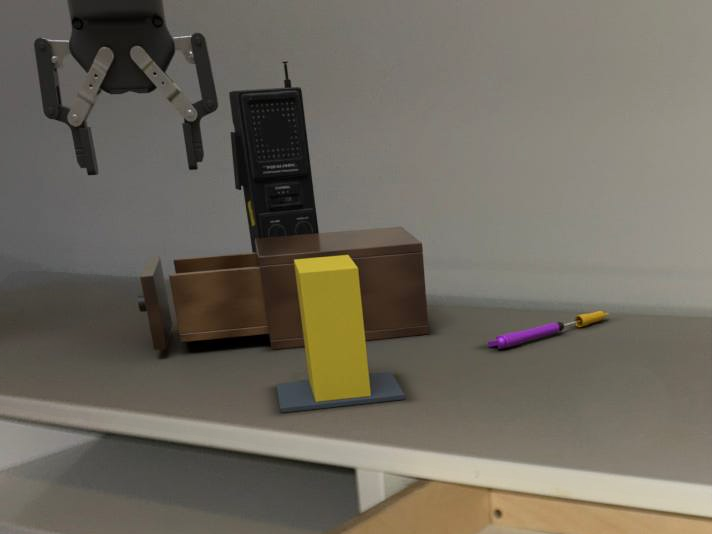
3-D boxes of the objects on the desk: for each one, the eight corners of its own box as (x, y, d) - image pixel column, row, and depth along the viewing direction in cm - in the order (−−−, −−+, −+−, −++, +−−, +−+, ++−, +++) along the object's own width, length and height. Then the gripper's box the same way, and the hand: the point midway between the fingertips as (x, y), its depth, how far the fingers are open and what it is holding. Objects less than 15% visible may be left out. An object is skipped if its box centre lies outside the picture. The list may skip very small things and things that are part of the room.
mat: (281, 412, 85) (280, 408, 85) (276, 388, 92) (276, 383, 92) (405, 399, 86) (404, 394, 86) (391, 376, 93) (391, 371, 93)
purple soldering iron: (503, 348, 99) (612, 319, 109) (501, 335, 99) (610, 307, 108) (484, 352, 101) (592, 322, 111) (481, 339, 100) (590, 310, 110)
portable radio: (263, 321, 118) (226, 64, 106) (250, 312, 123) (212, 65, 111) (331, 311, 121) (302, 60, 109) (315, 303, 125) (286, 61, 114)
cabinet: (271, 349, 105) (258, 256, 101) (266, 322, 117) (254, 238, 113) (428, 334, 107) (422, 242, 103) (408, 309, 119) (401, 226, 115)
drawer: (141, 351, 103) (126, 277, 100) (149, 326, 114) (136, 258, 111) (305, 335, 106) (295, 263, 102) (297, 312, 116) (289, 245, 113)
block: (315, 402, 86) (298, 272, 81) (309, 381, 92) (293, 259, 87) (371, 396, 86) (358, 267, 82) (361, 375, 92) (348, 254, 88)
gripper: (199, -45, 90) (227, 165, 98) (23, -41, 88) (65, 173, 96) (195, -54, 84) (225, 171, 91) (5, -51, 81) (52, 179, 89)
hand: (143, 172), depth 93 cm, fingers open, 8 cm apart
